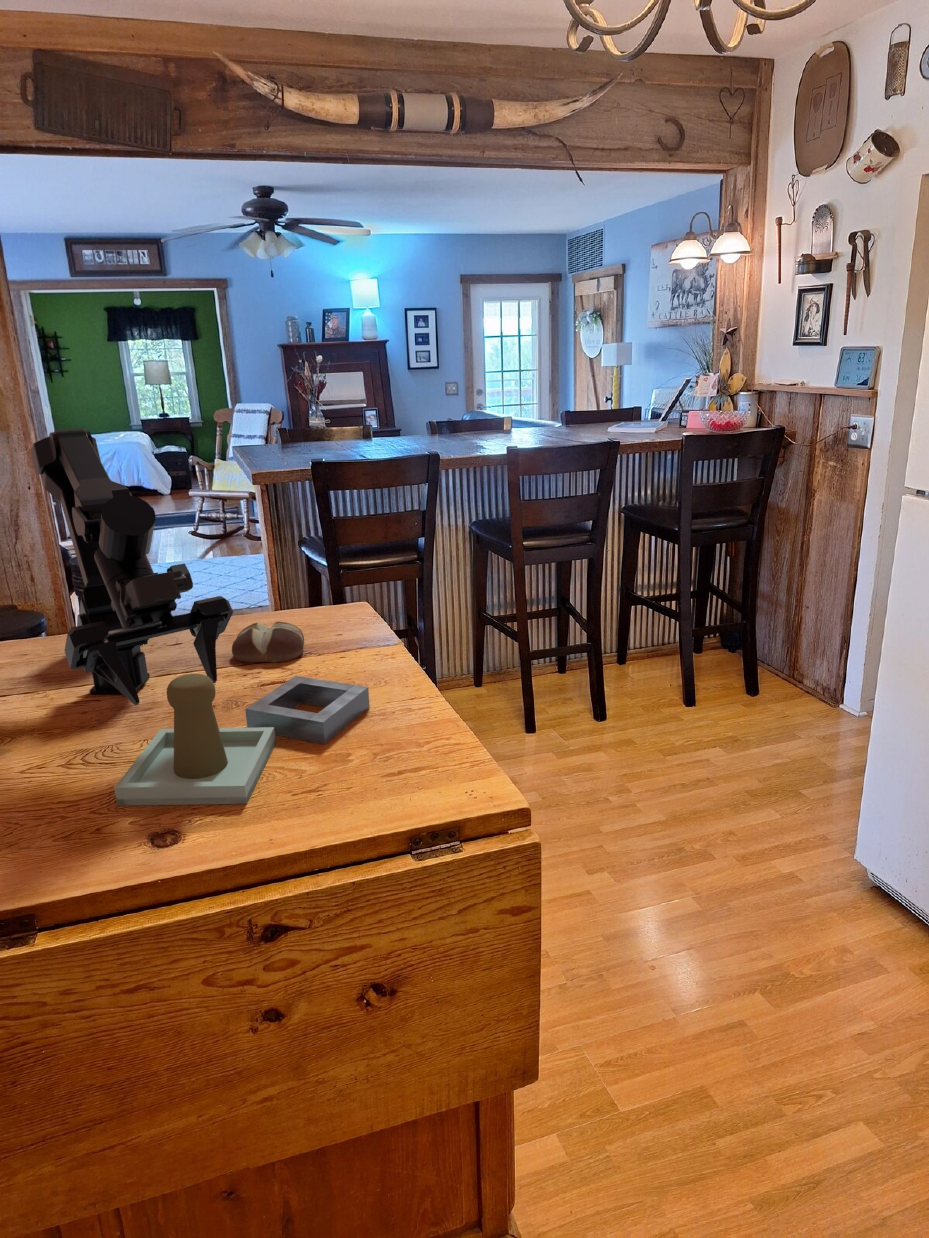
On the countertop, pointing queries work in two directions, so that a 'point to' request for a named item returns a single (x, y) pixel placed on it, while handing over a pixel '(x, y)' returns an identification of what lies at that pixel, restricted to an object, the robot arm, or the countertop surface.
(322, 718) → the metal collar
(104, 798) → the countertop surface
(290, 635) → the bread
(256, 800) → the countertop surface
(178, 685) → the olive pepper mill
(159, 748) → the green tray
